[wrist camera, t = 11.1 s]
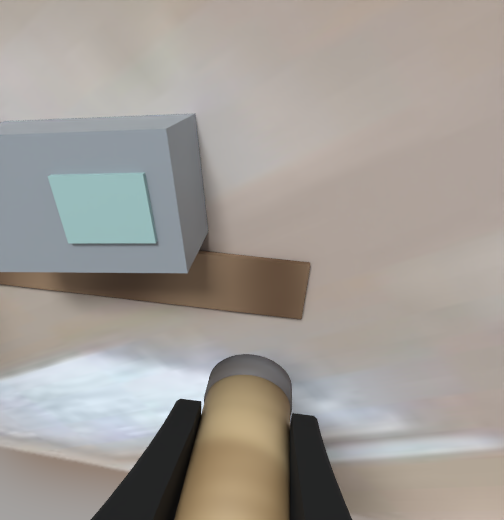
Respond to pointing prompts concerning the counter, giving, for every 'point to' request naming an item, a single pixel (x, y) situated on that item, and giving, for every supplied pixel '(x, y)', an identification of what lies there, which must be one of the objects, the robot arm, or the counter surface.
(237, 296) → the strip
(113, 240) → the finder block
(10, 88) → the counter surface
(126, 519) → the robot arm
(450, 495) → the counter surface
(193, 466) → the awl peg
